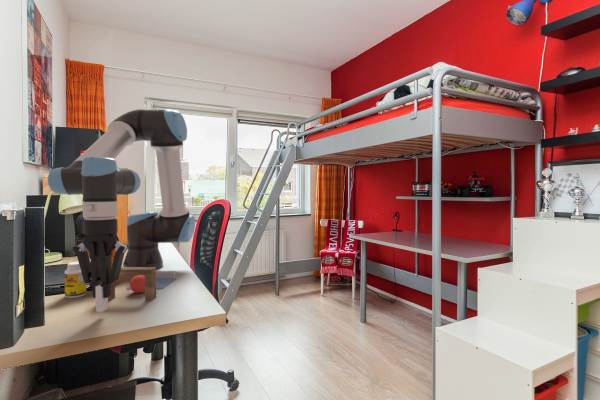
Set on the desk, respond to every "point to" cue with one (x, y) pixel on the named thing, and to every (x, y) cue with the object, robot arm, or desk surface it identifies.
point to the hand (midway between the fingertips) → (102, 309)
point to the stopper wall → (165, 274)
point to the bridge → (149, 280)
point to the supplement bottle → (74, 281)
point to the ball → (137, 284)
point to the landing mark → (162, 282)
